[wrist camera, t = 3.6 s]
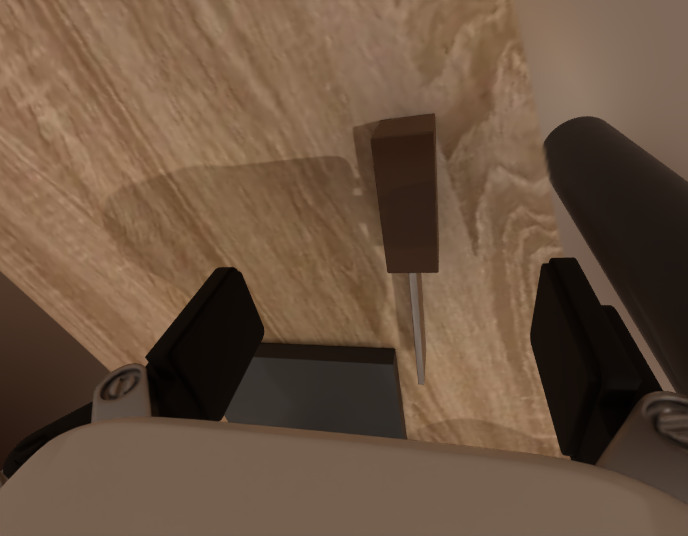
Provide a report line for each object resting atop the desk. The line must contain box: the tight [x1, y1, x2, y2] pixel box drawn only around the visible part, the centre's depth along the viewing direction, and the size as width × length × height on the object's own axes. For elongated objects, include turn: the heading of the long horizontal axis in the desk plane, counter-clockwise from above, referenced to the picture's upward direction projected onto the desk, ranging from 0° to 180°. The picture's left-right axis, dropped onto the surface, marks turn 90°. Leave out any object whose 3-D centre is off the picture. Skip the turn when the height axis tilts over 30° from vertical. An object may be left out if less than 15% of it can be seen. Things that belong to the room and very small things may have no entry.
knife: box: [371, 114, 439, 385], centre depth 20 cm, size 16×3×3 cm, turn 10°
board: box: [224, 343, 407, 440], centre depth 32 cm, size 17×15×2 cm
